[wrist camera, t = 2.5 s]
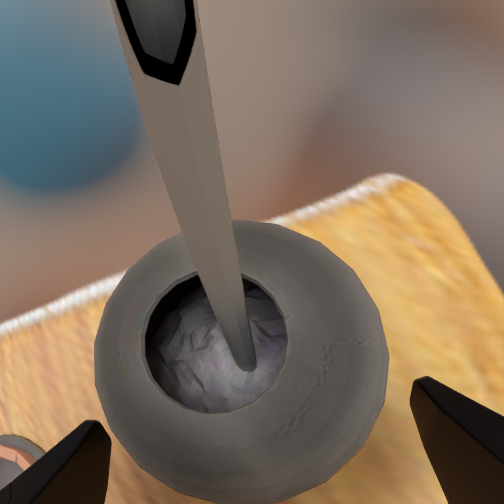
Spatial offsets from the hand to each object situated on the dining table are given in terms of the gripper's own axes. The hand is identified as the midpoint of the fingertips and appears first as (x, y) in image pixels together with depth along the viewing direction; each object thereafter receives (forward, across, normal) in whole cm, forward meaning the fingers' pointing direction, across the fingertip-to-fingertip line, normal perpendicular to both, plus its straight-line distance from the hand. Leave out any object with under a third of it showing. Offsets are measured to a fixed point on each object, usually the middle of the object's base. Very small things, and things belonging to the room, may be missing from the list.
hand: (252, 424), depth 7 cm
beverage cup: (+9, 0, +7) cm, 11 cm away
